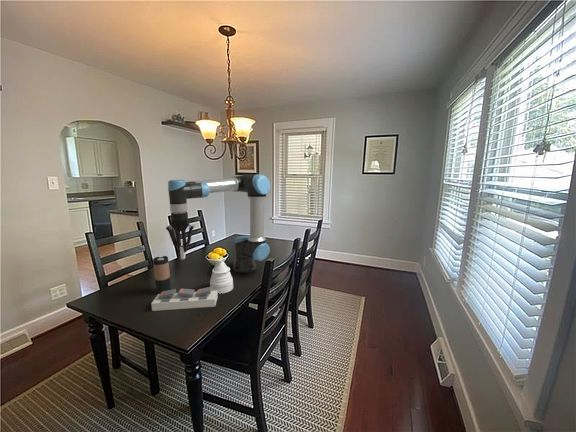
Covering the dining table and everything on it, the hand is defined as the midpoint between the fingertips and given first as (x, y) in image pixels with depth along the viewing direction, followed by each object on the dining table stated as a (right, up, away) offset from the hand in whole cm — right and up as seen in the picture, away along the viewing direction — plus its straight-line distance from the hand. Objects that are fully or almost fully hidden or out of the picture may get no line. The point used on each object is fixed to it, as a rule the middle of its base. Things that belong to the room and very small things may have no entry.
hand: (183, 258), depth 124 cm
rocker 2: (+9, -19, +5) cm, 21 cm away
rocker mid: (0, -19, +4) cm, 19 cm away
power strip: (0, -24, +4) cm, 24 cm away
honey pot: (+14, -21, +21) cm, 33 cm away
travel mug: (-18, -22, +16) cm, 33 cm away
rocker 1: (-9, -19, +3) cm, 21 cm away
